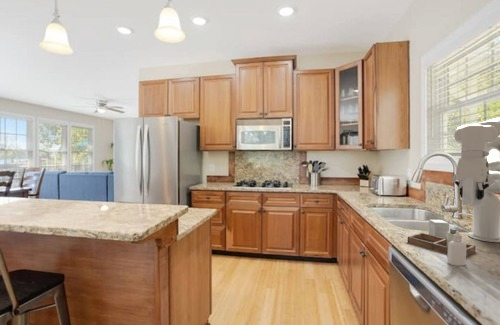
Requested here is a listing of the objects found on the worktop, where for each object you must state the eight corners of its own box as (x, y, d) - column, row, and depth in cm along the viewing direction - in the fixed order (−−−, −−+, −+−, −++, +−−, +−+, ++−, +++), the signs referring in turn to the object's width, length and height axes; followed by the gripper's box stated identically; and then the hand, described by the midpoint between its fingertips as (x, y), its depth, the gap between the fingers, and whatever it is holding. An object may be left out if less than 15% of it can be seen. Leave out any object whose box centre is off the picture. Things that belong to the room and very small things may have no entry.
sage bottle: (449, 247, 110) (450, 227, 110) (462, 251, 107) (462, 230, 106) (444, 249, 108) (445, 228, 108) (457, 253, 104) (457, 231, 104)
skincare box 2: (471, 204, 113) (472, 176, 112) (482, 206, 109) (483, 177, 108) (461, 204, 111) (462, 176, 110) (472, 206, 107) (473, 177, 106)
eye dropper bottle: (445, 260, 98) (446, 228, 97) (464, 263, 95) (465, 230, 95) (448, 264, 94) (449, 231, 93) (468, 267, 91) (469, 234, 91)
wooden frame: (421, 237, 123) (421, 232, 123) (475, 252, 106) (475, 246, 106) (407, 242, 117) (407, 236, 117) (462, 258, 100) (462, 251, 100)
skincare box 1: (428, 233, 130) (428, 219, 129) (441, 234, 129) (442, 219, 128) (434, 237, 124) (435, 222, 123) (449, 238, 123) (449, 223, 122)
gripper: (503, 155, 103) (501, 200, 104) (452, 154, 118) (451, 194, 119) (496, 155, 100) (494, 202, 100) (444, 154, 114) (443, 196, 115)
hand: (471, 197), depth 109 cm, fingers closed on skincare box 2, 5 cm apart
